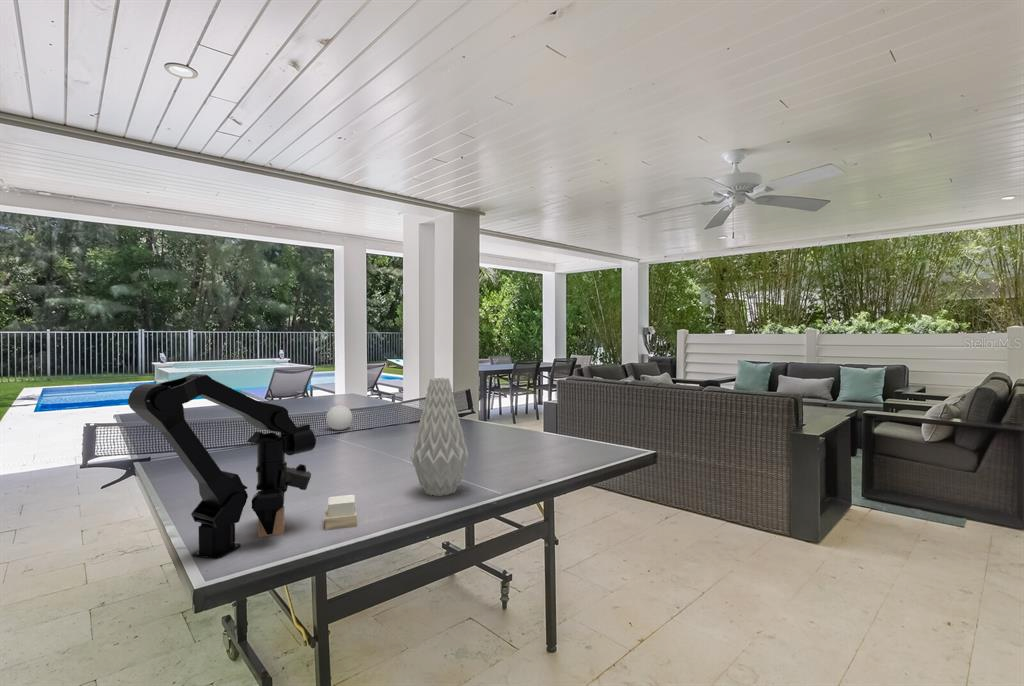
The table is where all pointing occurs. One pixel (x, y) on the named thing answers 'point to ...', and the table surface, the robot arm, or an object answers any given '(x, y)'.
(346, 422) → the decorative ball
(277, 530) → the terracotta cube
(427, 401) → the vase
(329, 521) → the tower base block
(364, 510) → the table surface
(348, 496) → the tower top block
